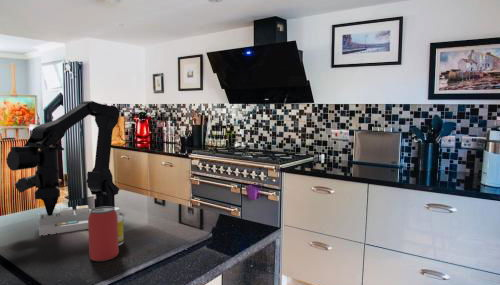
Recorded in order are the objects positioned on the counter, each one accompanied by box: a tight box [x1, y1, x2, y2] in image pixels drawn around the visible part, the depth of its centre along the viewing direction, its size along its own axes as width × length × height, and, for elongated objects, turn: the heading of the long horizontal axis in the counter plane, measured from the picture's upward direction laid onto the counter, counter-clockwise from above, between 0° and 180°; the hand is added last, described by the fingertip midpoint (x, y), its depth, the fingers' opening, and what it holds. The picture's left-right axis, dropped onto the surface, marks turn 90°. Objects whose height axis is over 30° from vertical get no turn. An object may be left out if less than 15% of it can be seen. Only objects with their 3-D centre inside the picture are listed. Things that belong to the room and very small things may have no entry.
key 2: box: [75, 204, 89, 214], centre depth 109 cm, size 3×3×2 cm
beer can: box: [87, 206, 120, 262], centre depth 81 cm, size 7×7×12 cm
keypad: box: [38, 208, 91, 237], centre depth 106 cm, size 14×14×4 cm
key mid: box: [59, 206, 73, 216], centre depth 106 cm, size 3×3×2 cm
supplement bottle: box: [114, 206, 125, 247], centre depth 90 cm, size 5×5×10 cm
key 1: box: [43, 212, 57, 219], centre depth 104 cm, size 3×3×2 cm
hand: (49, 215), depth 104 cm, fingers closed, pressing on key 1
